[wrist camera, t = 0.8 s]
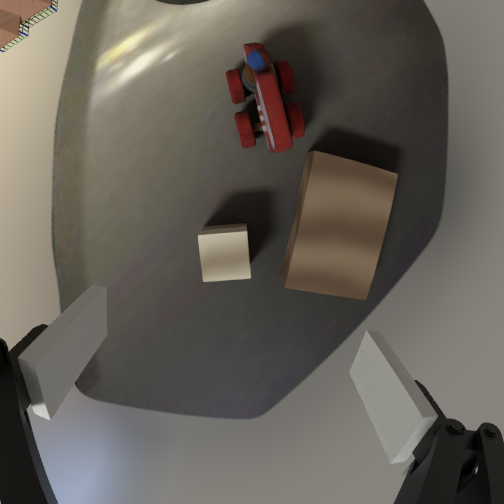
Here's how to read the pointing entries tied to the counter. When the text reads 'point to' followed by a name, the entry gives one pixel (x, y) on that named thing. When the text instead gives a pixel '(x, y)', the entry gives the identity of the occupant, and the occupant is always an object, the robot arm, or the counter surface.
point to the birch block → (224, 252)
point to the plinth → (338, 226)
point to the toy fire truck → (266, 100)
